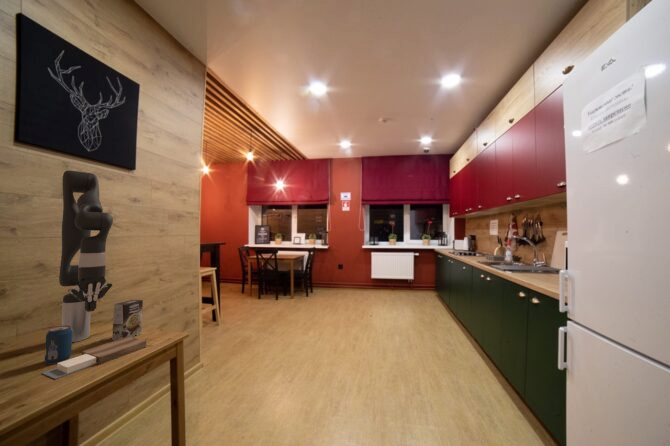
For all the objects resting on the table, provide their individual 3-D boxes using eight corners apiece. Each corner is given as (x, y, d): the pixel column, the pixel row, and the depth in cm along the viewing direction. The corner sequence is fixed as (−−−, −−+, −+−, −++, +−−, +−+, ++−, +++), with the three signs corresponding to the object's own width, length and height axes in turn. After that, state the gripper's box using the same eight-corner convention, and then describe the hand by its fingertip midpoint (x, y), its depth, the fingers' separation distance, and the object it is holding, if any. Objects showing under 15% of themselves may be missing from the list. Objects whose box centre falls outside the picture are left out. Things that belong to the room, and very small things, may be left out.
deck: (81, 357, 101) (81, 351, 101) (127, 342, 116) (127, 336, 116) (100, 364, 96) (100, 357, 96) (146, 347, 111) (146, 341, 111)
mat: (41, 373, 90) (41, 372, 90) (84, 358, 100) (84, 358, 100) (55, 379, 86) (55, 378, 86) (97, 363, 97) (97, 362, 97)
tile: (57, 369, 92) (57, 363, 92) (86, 359, 99) (86, 353, 99) (67, 373, 89) (67, 367, 89) (96, 363, 97) (96, 357, 97)
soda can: (69, 354, 104) (71, 323, 104) (72, 359, 99) (73, 327, 100) (43, 360, 98) (45, 328, 99) (45, 366, 94) (46, 333, 94)
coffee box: (123, 341, 116) (124, 304, 117) (111, 340, 118) (113, 303, 118) (142, 333, 125) (143, 299, 126) (131, 332, 127) (132, 298, 127)
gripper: (107, 262, 107) (105, 305, 106) (63, 266, 94) (61, 314, 94) (118, 263, 104) (116, 307, 103) (75, 267, 91) (72, 317, 91)
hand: (90, 311), depth 98 cm, fingers closed
